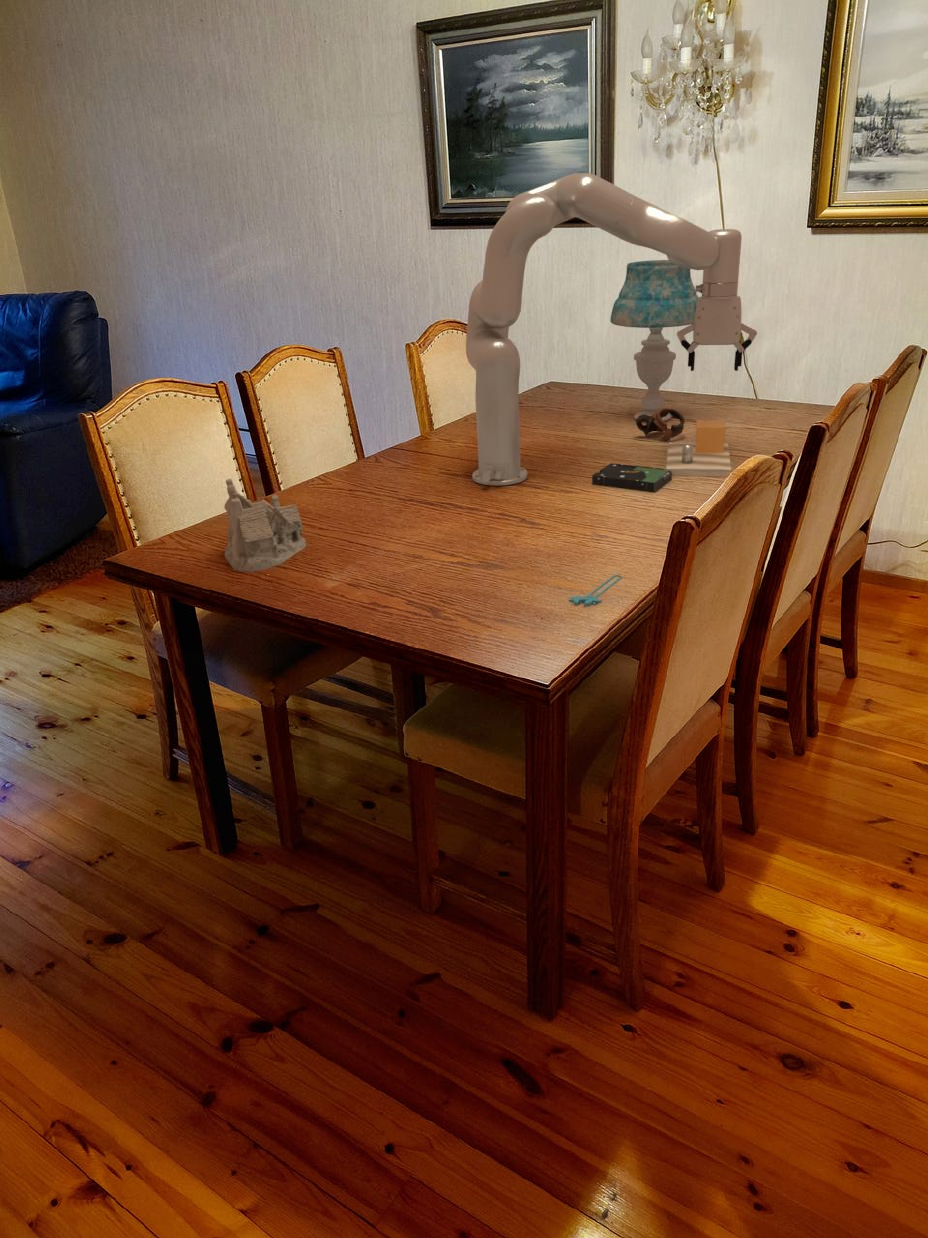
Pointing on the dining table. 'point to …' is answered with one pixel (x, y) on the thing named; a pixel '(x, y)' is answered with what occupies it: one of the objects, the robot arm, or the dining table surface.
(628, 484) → the disk drive
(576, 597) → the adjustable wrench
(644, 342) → the table lamp
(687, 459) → the steel post
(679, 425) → the brown wheeled mechanism
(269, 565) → the ceramic cottage
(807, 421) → the dining table surface
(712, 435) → the mustard wooden cube
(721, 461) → the birch board
